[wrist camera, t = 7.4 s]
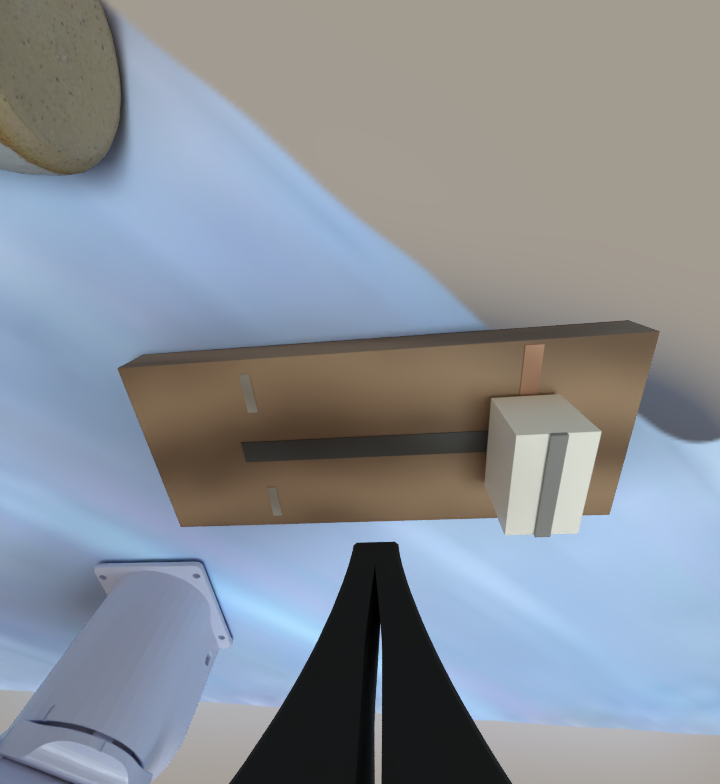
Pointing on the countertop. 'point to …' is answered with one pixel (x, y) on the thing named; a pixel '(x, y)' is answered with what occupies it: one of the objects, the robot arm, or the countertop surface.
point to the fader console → (373, 420)
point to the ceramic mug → (56, 86)
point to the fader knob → (539, 464)
